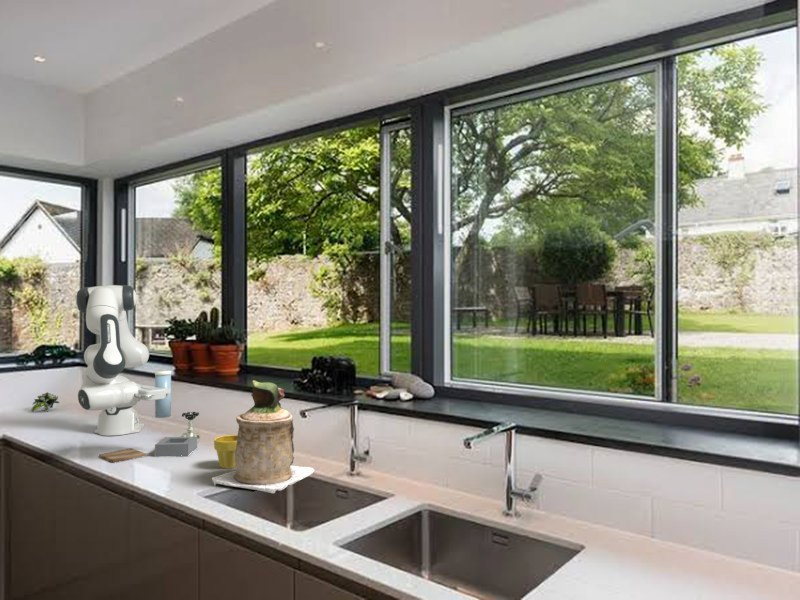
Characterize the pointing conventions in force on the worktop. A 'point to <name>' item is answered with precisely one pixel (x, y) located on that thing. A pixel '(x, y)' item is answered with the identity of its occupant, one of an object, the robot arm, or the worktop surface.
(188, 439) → the housing
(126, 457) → the board
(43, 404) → the green leafy plant
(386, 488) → the worktop surface
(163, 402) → the blue bottle
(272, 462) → the cookie jar
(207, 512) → the worktop surface
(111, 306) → the robot arm
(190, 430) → the valve
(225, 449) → the plant pot
